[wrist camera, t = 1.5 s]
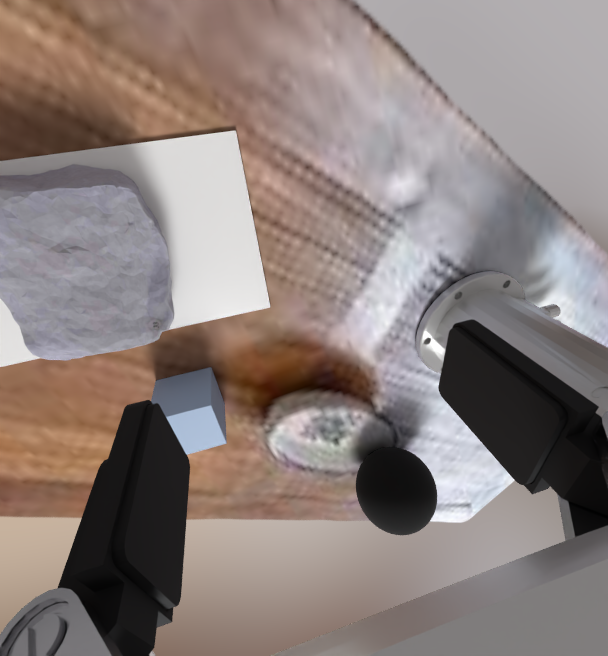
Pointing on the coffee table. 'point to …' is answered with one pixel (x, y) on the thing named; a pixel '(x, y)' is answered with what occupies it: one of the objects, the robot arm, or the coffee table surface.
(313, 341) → the coffee table surface
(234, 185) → the letter sheet
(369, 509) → the decorative ball
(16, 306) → the stone block
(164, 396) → the blue cube
